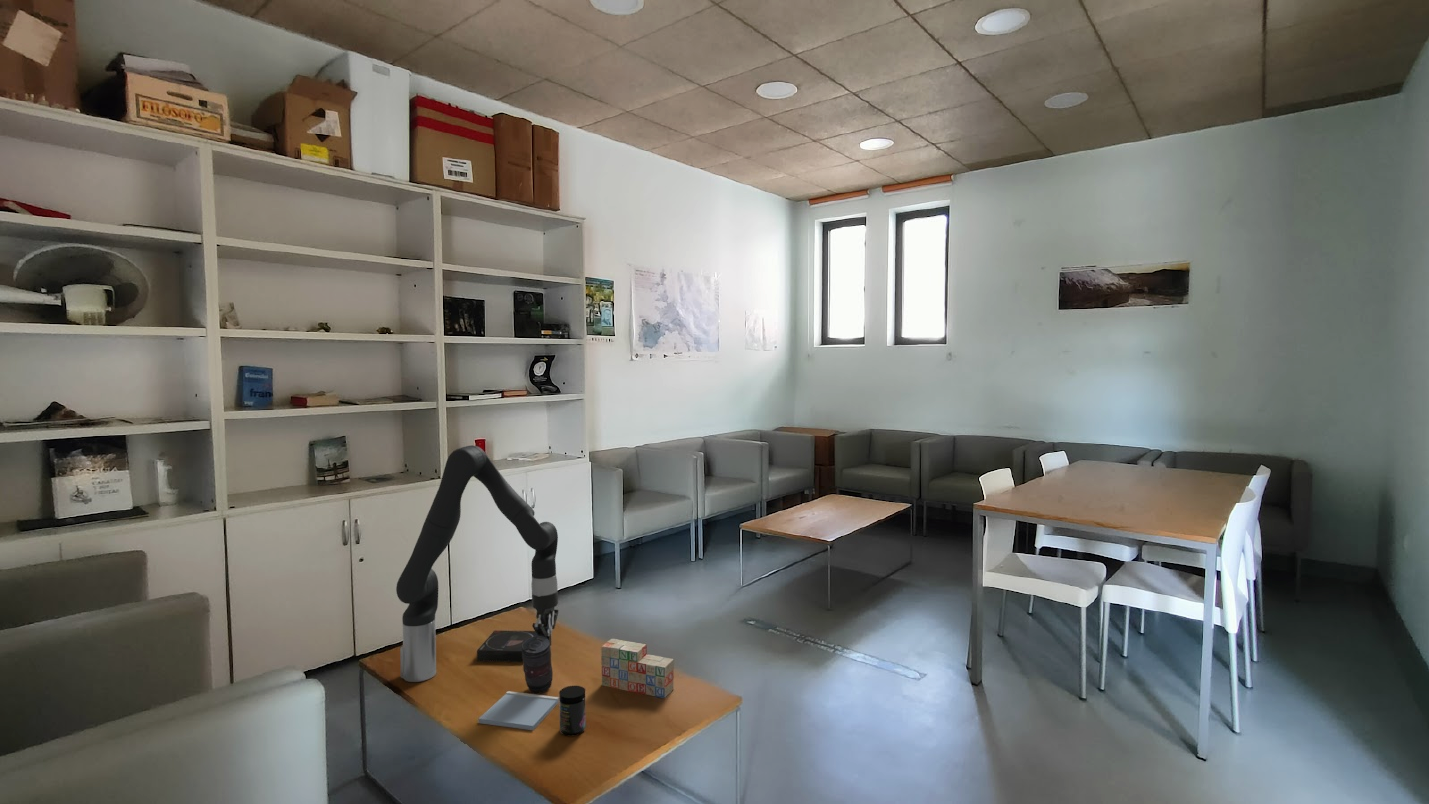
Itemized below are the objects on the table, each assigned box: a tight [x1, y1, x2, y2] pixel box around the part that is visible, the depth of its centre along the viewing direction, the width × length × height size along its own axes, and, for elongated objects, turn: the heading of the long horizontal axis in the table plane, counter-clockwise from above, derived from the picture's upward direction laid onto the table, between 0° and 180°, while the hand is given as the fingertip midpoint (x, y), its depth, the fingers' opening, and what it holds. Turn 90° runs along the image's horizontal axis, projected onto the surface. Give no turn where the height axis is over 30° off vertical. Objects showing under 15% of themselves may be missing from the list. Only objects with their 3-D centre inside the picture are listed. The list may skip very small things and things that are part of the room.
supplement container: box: [558, 685, 586, 737], centre depth 176 cm, size 7×7×10 cm
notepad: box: [478, 690, 559, 731], centre depth 185 cm, size 16×15×2 cm
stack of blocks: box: [600, 638, 675, 699], centre depth 200 cm, size 21×6×12 cm, turn 67°
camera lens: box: [522, 636, 554, 694], centre depth 196 cm, size 8×8×15 cm
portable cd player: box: [476, 630, 538, 663], centre depth 225 cm, size 16×17×4 cm
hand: (546, 646), depth 201 cm, fingers closed
